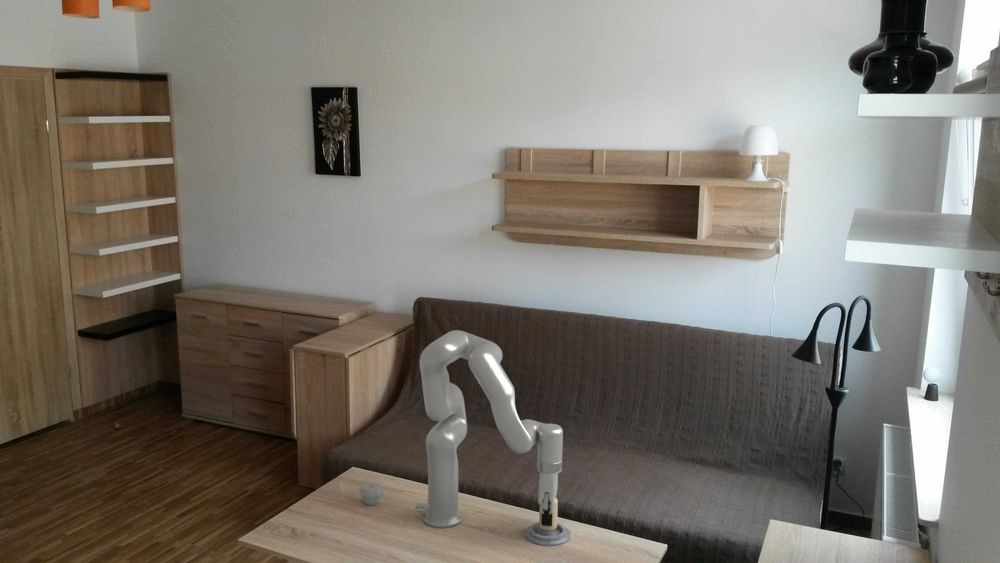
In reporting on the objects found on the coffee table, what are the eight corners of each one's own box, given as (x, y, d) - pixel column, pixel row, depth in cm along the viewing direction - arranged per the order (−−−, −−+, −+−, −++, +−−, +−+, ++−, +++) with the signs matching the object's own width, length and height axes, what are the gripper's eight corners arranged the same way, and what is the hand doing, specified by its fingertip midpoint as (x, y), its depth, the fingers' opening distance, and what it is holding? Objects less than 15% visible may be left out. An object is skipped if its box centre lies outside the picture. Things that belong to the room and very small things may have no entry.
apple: (381, 508, 270) (381, 489, 269) (357, 508, 270) (357, 489, 269) (385, 498, 278) (385, 479, 277) (361, 497, 278) (361, 479, 277)
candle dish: (521, 543, 249) (521, 537, 249) (528, 522, 263) (528, 516, 262) (567, 548, 246) (568, 542, 246) (572, 526, 260) (572, 521, 260)
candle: (555, 531, 251) (556, 500, 249) (537, 529, 252) (538, 498, 250) (558, 523, 256) (559, 492, 254) (540, 521, 257) (541, 491, 256)
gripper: (541, 453, 260) (539, 507, 263) (533, 475, 243) (531, 532, 246) (565, 455, 258) (563, 509, 261) (558, 477, 242) (556, 535, 245)
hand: (548, 520), depth 254 cm, fingers closed on candle, 5 cm apart
